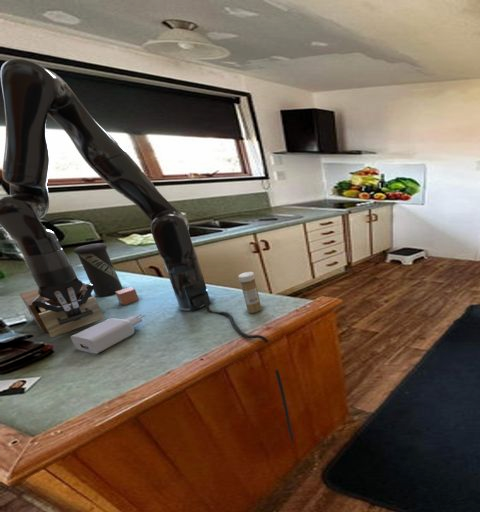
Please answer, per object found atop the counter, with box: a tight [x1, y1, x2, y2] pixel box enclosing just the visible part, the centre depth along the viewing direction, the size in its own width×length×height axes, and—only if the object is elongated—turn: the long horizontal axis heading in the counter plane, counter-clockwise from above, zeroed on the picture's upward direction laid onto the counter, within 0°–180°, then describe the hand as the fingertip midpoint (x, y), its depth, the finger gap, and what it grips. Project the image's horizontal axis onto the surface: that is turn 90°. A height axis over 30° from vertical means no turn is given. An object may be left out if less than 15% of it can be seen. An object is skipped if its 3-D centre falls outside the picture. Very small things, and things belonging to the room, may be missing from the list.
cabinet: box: [19, 287, 93, 334], centre depth 91 cm, size 16×13×10 cm
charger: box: [70, 314, 146, 355], centre depth 80 cm, size 5×9×15 cm
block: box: [114, 286, 140, 306], centre depth 101 cm, size 4×4×4 cm
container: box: [73, 242, 124, 297], centre depth 106 cm, size 9×9×20 cm
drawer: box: [36, 293, 105, 338], centre depth 85 cm, size 19×12×8 cm, turn 59°
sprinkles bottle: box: [238, 271, 262, 314], centre depth 90 cm, size 5×5×14 cm
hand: (77, 319), depth 82 cm, fingers closed
